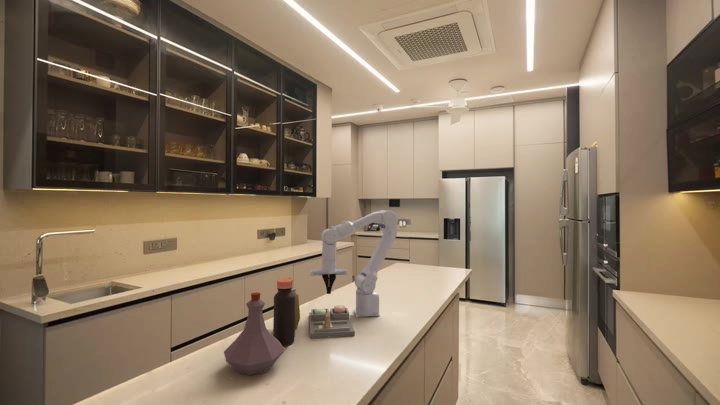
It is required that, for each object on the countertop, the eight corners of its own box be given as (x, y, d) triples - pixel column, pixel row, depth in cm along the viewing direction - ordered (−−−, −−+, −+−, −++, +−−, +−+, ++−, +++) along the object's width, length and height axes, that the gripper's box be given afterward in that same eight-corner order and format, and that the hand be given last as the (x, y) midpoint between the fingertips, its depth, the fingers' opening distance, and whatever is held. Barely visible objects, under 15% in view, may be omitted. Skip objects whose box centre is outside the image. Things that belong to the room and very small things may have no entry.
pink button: (344, 310, 129) (344, 305, 129) (345, 313, 125) (346, 308, 125) (333, 310, 128) (333, 305, 128) (334, 314, 124) (334, 309, 124)
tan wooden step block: (331, 323, 118) (331, 312, 118) (332, 328, 113) (332, 316, 113) (322, 324, 117) (323, 312, 117) (323, 329, 112) (323, 317, 112)
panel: (346, 314, 133) (346, 305, 133) (354, 335, 111) (354, 325, 111) (309, 316, 131) (309, 307, 131) (310, 338, 109) (310, 327, 109)
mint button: (325, 313, 128) (325, 308, 128) (326, 317, 124) (326, 312, 124) (314, 314, 127) (314, 308, 127) (314, 317, 123) (314, 312, 123)
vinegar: (268, 344, 103) (269, 281, 104) (281, 336, 110) (281, 277, 110) (287, 348, 101) (288, 283, 101) (298, 339, 108) (299, 279, 108)
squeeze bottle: (304, 326, 119) (305, 277, 120) (291, 334, 112) (291, 281, 112) (286, 322, 123) (287, 275, 123) (272, 330, 116) (273, 279, 116)
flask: (262, 348, 101) (263, 283, 101) (297, 364, 91) (298, 292, 91) (210, 368, 88) (211, 294, 89) (243, 390, 78) (245, 306, 78)
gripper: (311, 261, 125) (310, 296, 125) (348, 260, 127) (348, 295, 127) (310, 258, 132) (310, 291, 132) (346, 257, 134) (345, 290, 134)
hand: (328, 293), depth 130 cm, fingers closed
